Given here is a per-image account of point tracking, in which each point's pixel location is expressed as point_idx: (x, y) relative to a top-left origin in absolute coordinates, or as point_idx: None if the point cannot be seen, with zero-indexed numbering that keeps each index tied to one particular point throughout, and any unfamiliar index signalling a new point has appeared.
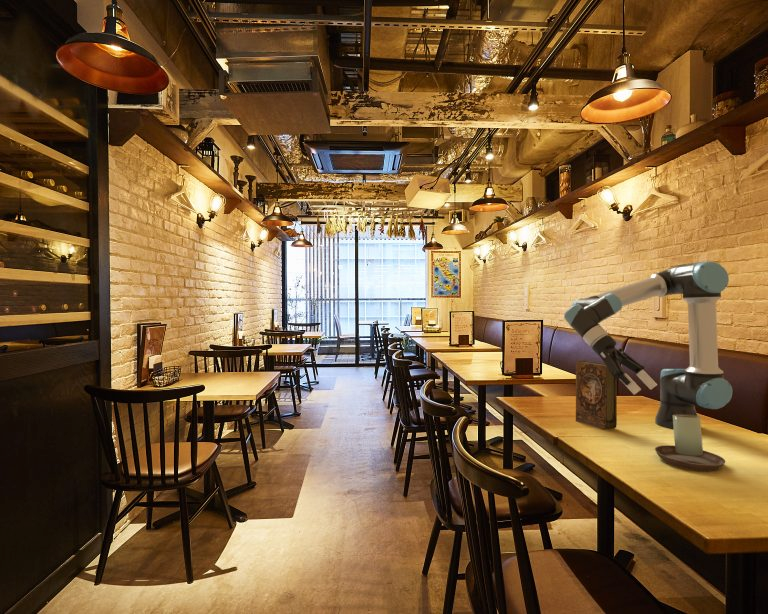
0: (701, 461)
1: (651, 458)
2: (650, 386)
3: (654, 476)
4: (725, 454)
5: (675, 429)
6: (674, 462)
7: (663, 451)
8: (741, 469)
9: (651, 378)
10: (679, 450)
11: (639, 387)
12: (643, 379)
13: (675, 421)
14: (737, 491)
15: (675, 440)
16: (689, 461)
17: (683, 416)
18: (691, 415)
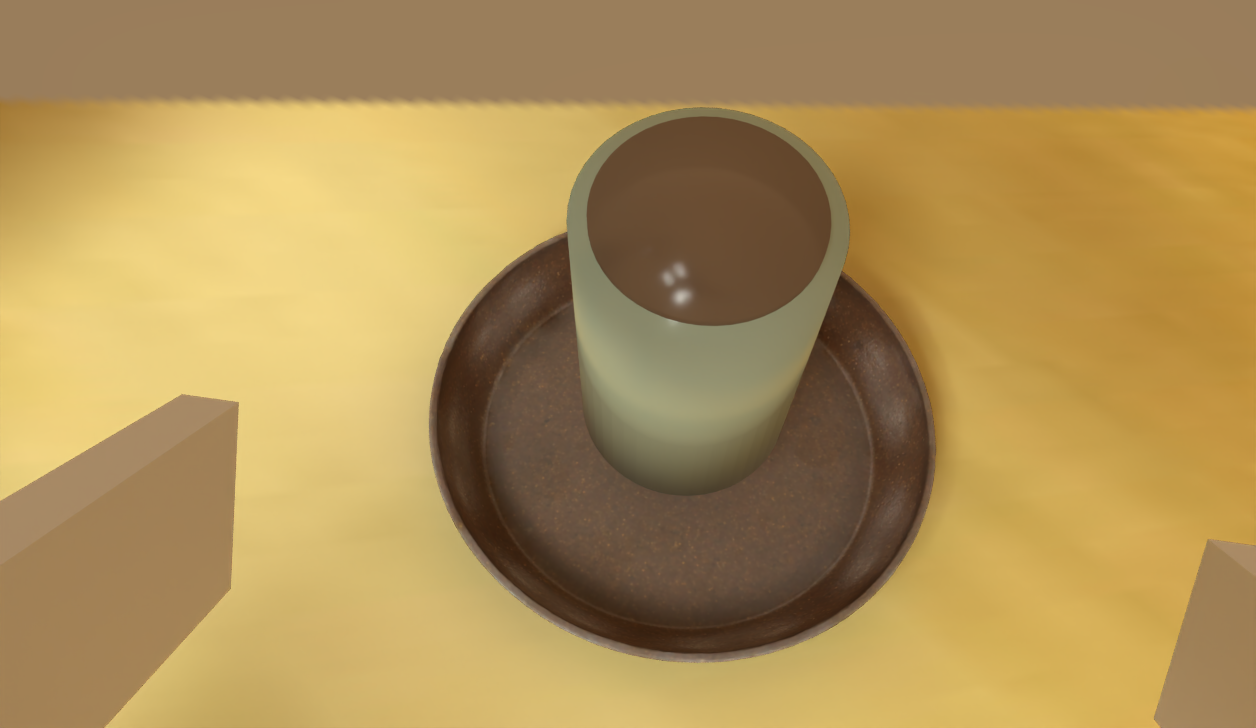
0: None
1: (805, 692)
2: (209, 561)
3: None
4: (229, 265)
5: (783, 384)
6: (907, 485)
7: (599, 622)
8: None
9: (74, 462)
10: (774, 441)
11: (1244, 565)
12: (75, 699)
13: (808, 335)
14: (1050, 185)
15: (756, 440)
16: None
17: (832, 219)
18: (683, 169)
